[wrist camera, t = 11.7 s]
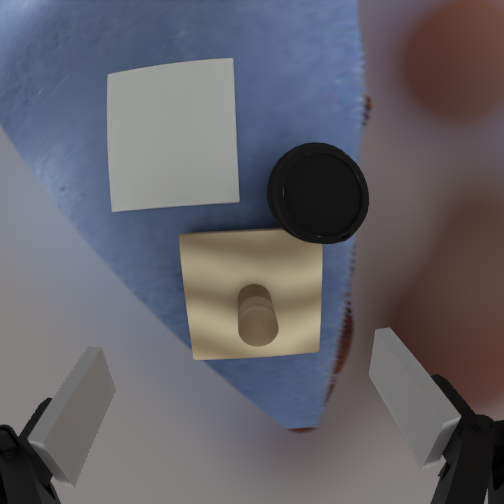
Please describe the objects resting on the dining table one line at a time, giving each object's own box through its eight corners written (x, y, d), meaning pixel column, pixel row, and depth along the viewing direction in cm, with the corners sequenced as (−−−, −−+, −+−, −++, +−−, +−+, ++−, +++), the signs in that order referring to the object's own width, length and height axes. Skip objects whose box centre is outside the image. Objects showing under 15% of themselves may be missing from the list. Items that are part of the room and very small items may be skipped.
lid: (180, 233, 34) (163, 252, 26) (319, 226, 34) (343, 242, 26) (195, 354, 38) (186, 396, 30) (316, 346, 38) (333, 385, 30)
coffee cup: (277, 232, 39) (301, 268, 25) (244, 171, 37) (249, 170, 23) (336, 201, 39) (390, 219, 24) (306, 140, 37) (347, 122, 22)
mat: (109, 75, 33) (107, 74, 33) (233, 59, 34) (233, 57, 33) (113, 211, 38) (112, 212, 37) (239, 201, 38) (239, 202, 38)
